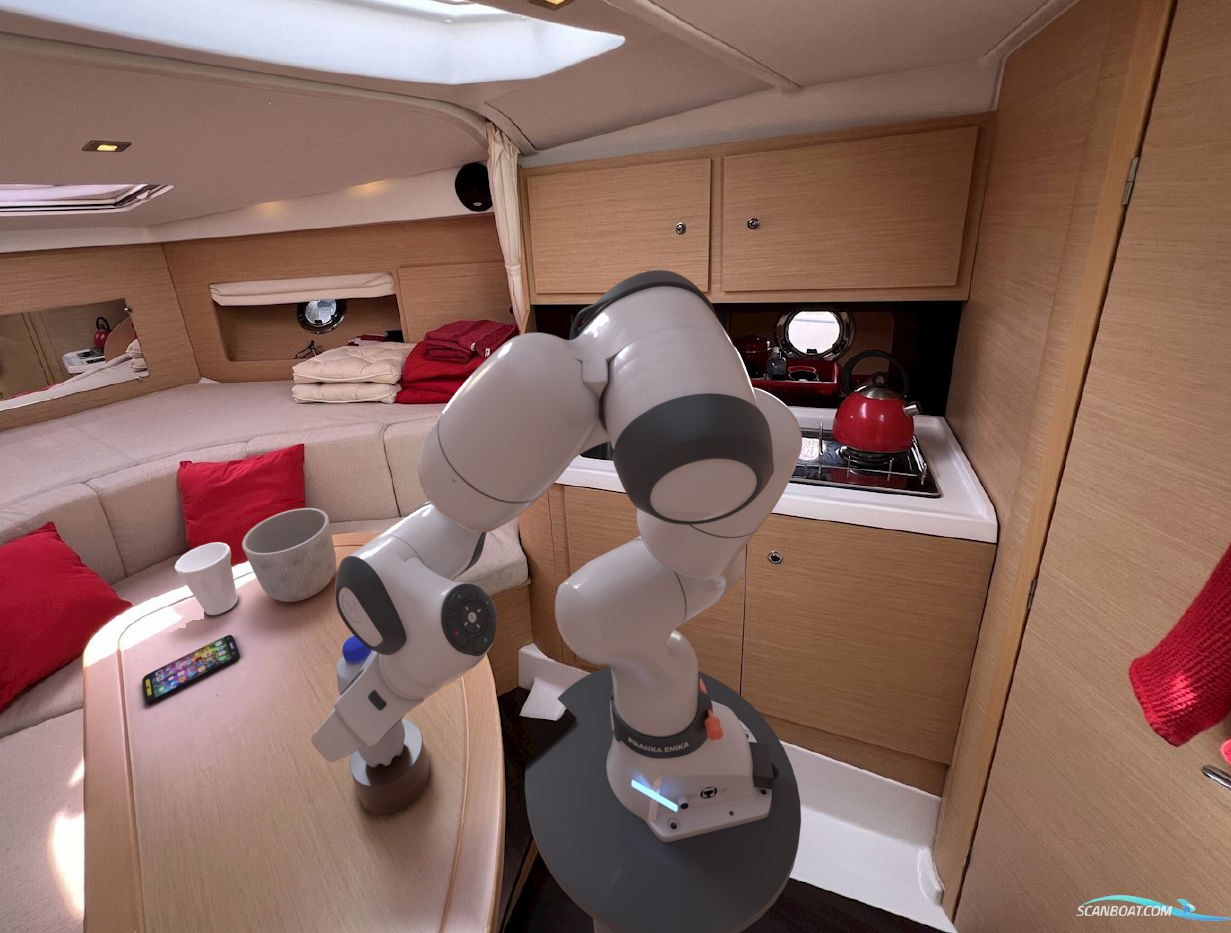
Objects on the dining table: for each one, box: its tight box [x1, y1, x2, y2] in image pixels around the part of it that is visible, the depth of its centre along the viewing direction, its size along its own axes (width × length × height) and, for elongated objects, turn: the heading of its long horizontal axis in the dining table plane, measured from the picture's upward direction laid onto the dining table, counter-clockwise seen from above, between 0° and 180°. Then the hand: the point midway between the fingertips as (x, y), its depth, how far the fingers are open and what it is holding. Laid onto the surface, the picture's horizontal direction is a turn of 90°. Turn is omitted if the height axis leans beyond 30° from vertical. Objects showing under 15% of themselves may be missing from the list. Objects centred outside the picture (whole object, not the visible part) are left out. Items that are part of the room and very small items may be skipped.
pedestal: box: [349, 718, 430, 816], centre depth 77 cm, size 10×10×6 cm
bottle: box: [335, 635, 405, 767], centre depth 72 cm, size 7×7×20 cm
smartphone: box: [141, 634, 241, 705], centre depth 100 cm, size 8×1×15 cm
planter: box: [241, 507, 337, 603], centre depth 117 cm, size 17×17×15 cm
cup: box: [174, 541, 239, 616], centre depth 114 cm, size 10×10×13 cm
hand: (367, 694), depth 72 cm, fingers closed on bottle, 6 cm apart
